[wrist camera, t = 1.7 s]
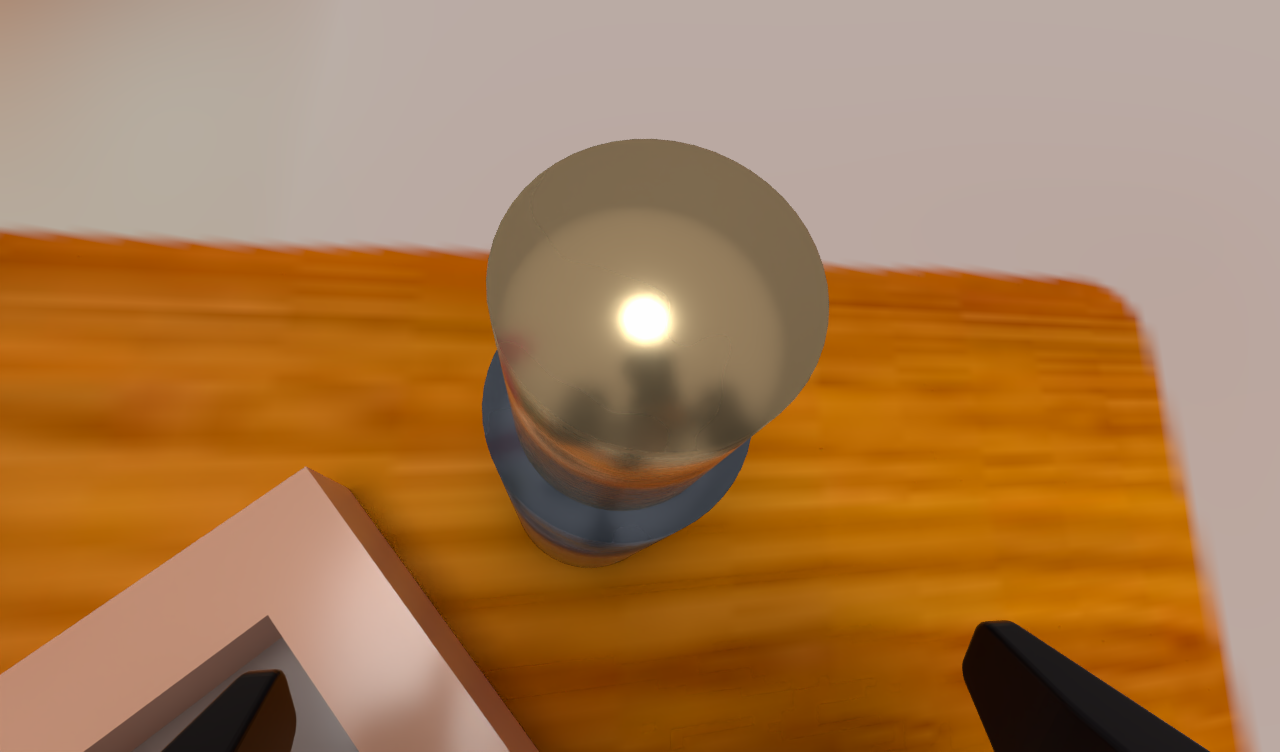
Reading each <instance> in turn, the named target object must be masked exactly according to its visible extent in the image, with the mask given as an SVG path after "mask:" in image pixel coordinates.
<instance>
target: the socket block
mask: <svg viewBox="0 0 1280 752" xmlns="http://www.w3.org/2000/svg"><path fill="white" fill-rule="evenodd" d="M266 669H280V670H282V671H283V672H284V673H285V676H286V678H287V682H288V685H289V689H290V692H291V696H292V699H293V703H294V706H295V710H296V716H297V725H296V733H295V737H294V741H293V746H292V750H291V752H539V751H538V749H537V748H536V747H535V745H534V744H533V742H532V741H531V740H530V738H529V737H528V736H527V734H526V733H525V731H524V730H523V729H522V727H521V726H520V725H519V723H518V722H517V720H516V719H515V718H514V716H513V715H512V714H511V712H510V711H509V709H508V708H507V707H506V705H505V704H504V702H503V701H502V700H501V698H500V697H499V696H498V694H497V693H496V691H495V690H494V689H493V687H492V686H491V685H490V683H489V682H488V680H487V679H486V678H485V676H484V675H483V673H482V672H481V671H480V669H479V668H478V667H477V665H476V664H475V662H474V661H473V660H472V658H471V657H470V656H469V654H468V653H467V651H466V650H465V649H464V647H463V646H462V644H461V643H460V642H459V640H458V639H457V638H456V636H455V635H454V633H453V632H452V631H451V629H450V628H449V627H448V625H447V624H446V622H445V621H444V620H443V618H442V617H441V615H440V614H439V613H438V611H437V610H436V609H435V607H434V606H433V604H432V603H431V602H430V600H429V599H428V598H427V596H426V595H425V593H424V592H423V591H422V589H421V588H420V587H419V585H418V584H417V582H416V581H415V580H414V578H413V577H412V575H411V574H410V573H409V571H408V570H407V569H406V567H405V566H404V564H403V563H402V562H401V560H400V559H399V558H398V556H397V555H396V553H395V552H394V551H393V549H392V548H391V546H390V545H389V544H388V542H387V541H386V540H385V538H384V537H383V535H382V534H381V533H380V531H379V530H378V529H377V527H376V526H375V524H374V523H373V522H372V520H371V519H370V517H369V516H368V515H367V513H366V512H365V511H364V509H363V508H362V506H361V505H360V504H359V502H358V501H357V500H356V498H355V497H354V495H353V494H352V493H351V491H350V490H349V489H348V488H346V487H344V486H342V485H340V484H338V483H337V482H335V481H333V480H331V479H329V478H327V477H325V476H323V475H321V474H319V473H317V472H315V471H314V470H312V469H310V468H308V467H304V468H303V469H302V470H300V471H299V472H297V473H296V474H294V475H293V476H291V477H290V478H288V479H287V480H285V481H284V482H282V483H281V484H280V485H278V486H277V487H275V488H274V489H272V490H271V491H269V492H268V493H266V494H265V495H263V496H262V497H260V498H259V499H258V500H256V501H255V502H253V503H252V504H250V505H249V506H247V507H246V508H244V509H243V510H241V511H240V512H238V513H237V514H236V515H234V516H233V517H231V518H230V519H228V520H227V521H225V522H224V523H222V524H221V525H219V526H218V527H216V528H215V529H214V530H212V531H211V532H209V533H208V534H206V535H205V536H203V537H202V538H200V539H199V540H197V541H196V542H194V543H193V544H192V545H190V546H189V547H187V548H186V549H184V550H183V551H181V552H180V553H178V554H177V555H175V556H174V557H172V558H171V559H170V560H168V561H167V562H165V563H164V564H162V565H161V566H159V567H158V568H156V569H155V570H153V571H152V572H150V573H149V574H148V575H146V576H145V577H143V578H142V579H140V580H139V581H137V582H136V583H134V584H133V585H131V586H130V587H128V588H127V589H126V590H124V591H123V592H121V593H120V594H118V595H117V596H115V597H114V598H112V599H111V600H109V601H108V602H106V603H105V604H104V605H102V606H101V607H99V608H98V609H96V610H95V611H93V612H92V613H90V614H89V615H87V616H86V617H84V618H83V619H82V620H80V621H79V622H77V623H76V624H74V625H73V626H71V627H70V628H68V629H67V630H65V631H64V632H63V633H61V634H60V635H58V636H57V637H55V638H54V639H52V640H51V641H49V642H48V643H46V644H45V645H43V646H42V647H41V648H39V649H38V650H36V651H35V652H33V653H32V654H30V655H29V656H27V657H26V658H24V659H23V660H21V661H20V662H19V663H17V664H16V665H14V666H13V667H11V668H10V669H8V670H7V671H5V672H4V673H2V674H1V675H0V752H161V751H162V750H163V749H164V748H165V747H166V746H167V745H168V744H169V743H170V742H171V741H172V740H173V739H174V738H175V737H176V736H177V735H178V734H179V733H180V732H181V731H182V730H183V729H184V728H185V727H186V726H188V725H189V724H190V723H191V722H192V721H193V720H194V719H195V718H196V717H197V716H198V715H199V714H200V713H201V712H202V711H203V710H204V709H205V708H206V707H207V706H208V705H209V704H210V703H211V702H212V701H213V700H215V699H216V698H217V697H218V696H219V695H220V694H221V693H222V692H223V691H224V690H225V689H226V688H227V687H228V686H229V685H230V684H231V683H232V682H233V681H234V680H235V679H236V678H238V677H239V676H240V675H242V674H243V673H245V672H247V671H252V670H266Z"/></svg>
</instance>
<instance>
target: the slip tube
mask: <svg viewBox="0 0 1280 752" xmlns="http://www.w3.org/2000/svg"><path fill="white" fill-rule="evenodd" d="M486 287H487V303H488V308H489V314H490V319H491V324H492V328H493V333H494V337H495V341H496V346H497V351H496V353H495V354H494V357H493V359H492V362H491V364H490V367H489V369H488V373H487V377H486V381H485V385H484V391H483V401H482V415H483V426H484V432H485V438H486V442H487V445H488V448H489V451H490V454H491V457H492V459H493V462H494V464H495V466H496V468H497V470H498V473H499V475H500V477H501V479H502V482H503V484H504V486H505V488H506V490H507V493H508V495H509V497H510V499H511V501H512V504H513V506H514V508H515V510H516V513H517V515H518V517H519V519H520V521H521V523H522V526H523V528H524V530H525V531H526V533H527V534H528V536H529V537H530V539H531V540H532V541H533V542H534V543H535V544H536V546H537V547H539V548H540V549H541V550H542V551H543V552H544V553H546V554H547V555H549V556H550V557H552V558H553V559H556V560H558V561H560V562H562V563H565V564H568V565H572V566H577V567H586V568H594V567H603V566H607V565H611V564H614V563H616V562H619V561H621V560H623V559H625V558H627V557H629V556H631V555H633V554H635V553H637V552H639V551H641V550H642V549H644V548H646V547H648V546H650V545H652V544H654V543H656V542H658V541H660V540H662V539H663V538H665V537H667V536H669V535H671V534H673V533H675V532H677V531H679V530H681V529H682V528H684V527H686V526H688V525H689V524H691V523H693V522H695V521H696V520H698V519H699V518H700V517H701V516H703V515H704V514H705V513H707V512H708V511H709V510H711V508H712V507H713V506H714V505H715V504H716V503H717V502H718V501H719V500H720V499H721V498H722V497H723V496H724V495H725V493H726V492H727V491H728V489H729V488H730V487H731V485H732V484H733V482H734V481H735V479H736V477H737V475H738V473H739V471H740V470H741V468H742V465H743V462H744V460H745V457H746V454H747V452H748V447H749V443H750V439H751V437H752V436H753V435H754V434H755V433H757V432H758V431H759V430H760V429H762V428H763V427H764V426H765V425H766V424H768V423H769V422H770V421H771V420H773V419H774V418H775V417H776V416H778V415H779V414H780V413H781V412H782V411H783V410H784V409H785V408H786V407H787V406H788V405H789V404H790V403H791V402H792V401H793V400H794V399H795V398H796V397H797V395H798V394H799V393H800V391H801V390H802V388H803V387H804V386H805V384H806V383H807V382H808V380H809V378H810V376H811V374H812V372H813V371H814V369H815V367H816V365H817V363H818V360H819V357H820V354H821V352H822V349H823V346H824V342H825V337H826V332H827V327H828V315H829V299H828V287H827V281H826V277H825V272H824V268H823V264H822V261H821V259H820V256H819V253H818V250H817V248H816V246H815V244H814V242H813V240H812V238H811V236H810V234H809V232H808V230H807V228H806V227H805V225H804V224H803V222H802V221H801V219H800V218H799V216H798V215H797V213H796V212H795V211H794V210H793V209H792V207H791V206H790V205H789V204H788V203H787V201H786V200H785V199H784V198H783V197H782V196H781V195H780V194H779V193H778V192H777V191H776V190H775V189H773V188H772V187H771V186H770V185H769V184H768V183H767V182H766V181H764V180H763V179H762V178H760V177H758V176H757V175H756V174H755V173H753V172H752V171H751V170H749V169H747V168H746V167H744V166H742V165H740V164H739V163H737V162H735V161H733V160H731V159H729V158H727V157H725V156H722V155H720V154H718V153H716V152H713V151H710V150H707V149H704V148H701V147H698V146H695V145H690V144H686V143H681V142H676V141H668V140H658V139H632V140H623V141H615V142H610V143H606V144H601V145H597V146H594V147H590V148H588V149H585V150H582V151H580V152H577V153H574V154H572V155H570V156H568V157H567V158H565V159H563V160H561V161H559V162H557V163H555V164H554V165H552V166H551V167H550V168H548V169H547V170H545V171H544V172H543V173H541V174H540V175H538V176H537V177H536V178H535V179H534V180H533V181H532V182H531V183H530V184H529V185H528V186H527V187H525V188H524V190H523V191H522V192H521V193H520V194H519V196H518V197H517V198H516V199H515V200H514V202H513V203H512V204H511V206H510V208H509V209H508V211H507V213H506V214H505V216H504V218H503V219H502V221H501V223H500V225H499V228H498V230H497V232H496V235H495V237H494V240H493V244H492V247H491V251H490V255H489V259H488V268H487V277H486Z"/></svg>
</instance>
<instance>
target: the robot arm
mask: <svg viewBox="0 0 1280 752" xmlns="http://www.w3.org/2000/svg"><path fill="white" fill-rule="evenodd" d="M962 671H963V677H964V680H965V683H966V685H967V688H968V690H969V693H970V695H971V697H972V700H973V702H974V705H975V707H976V709H977V712H978V714H979V716H980V719H981V721H982V724H983V726H984V728H985V731H986V733H987V735H988V738H989V740H990V743H991V745H992V747H993V750H994V752H1210V751H1208V750H1207V749H1205V748H1204V747H1202V746H1201V745H1199V744H1198V743H1196V742H1195V741H1193V740H1192V739H1190V738H1189V737H1187V736H1185V735H1184V734H1182V733H1181V732H1179V731H1178V730H1176V729H1175V728H1173V727H1172V726H1170V725H1169V724H1167V723H1166V722H1164V721H1163V720H1161V719H1160V718H1158V717H1157V716H1155V715H1154V714H1152V713H1151V712H1149V711H1148V710H1146V709H1144V708H1143V707H1141V706H1140V705H1138V704H1137V703H1135V702H1134V701H1132V700H1131V699H1129V698H1128V697H1126V696H1125V695H1123V694H1122V693H1120V692H1119V691H1117V690H1116V689H1114V688H1113V687H1111V686H1110V685H1108V684H1107V683H1105V682H1104V681H1102V680H1100V679H1099V678H1097V677H1096V676H1094V675H1093V674H1091V673H1090V672H1088V671H1087V670H1085V669H1084V668H1082V667H1081V666H1079V665H1078V664H1076V663H1075V662H1073V661H1072V660H1070V659H1069V658H1067V657H1066V656H1064V655H1063V654H1061V653H1060V652H1058V651H1056V650H1055V649H1053V648H1052V647H1050V646H1049V645H1047V644H1046V643H1044V642H1043V641H1041V640H1040V639H1038V638H1037V637H1035V636H1034V635H1032V634H1031V633H1029V632H1028V631H1026V630H1025V629H1023V628H1022V627H1020V626H1019V625H1017V624H1015V623H1013V622H1011V621H1006V620H1001V621H986V622H981V623H980V624H979V625H978V626H977V627H976V629H975V631H974V634H973V636H972V639H971V641H970V644H969V647H968V649H967V652H966V654H965V657H964V659H963V663H962ZM296 725H297V716H296V710H295V706H294V703H293V699H292V696H291V692H290V689H289V685H288V682H287V678H286V676H285V673H284V672H283V671H282V670H280V669H266V670H252V671H247V672H245V673H243V674H242V675H240V676H239V677H238V678H236V679H235V680H234V681H233V682H232V683H231V684H230V685H229V686H228V687H227V688H226V689H225V690H224V691H223V692H222V693H221V694H220V695H219V696H218V697H217V698H216V699H215V700H213V701H212V702H211V703H210V704H209V705H208V706H207V707H206V708H205V709H204V710H203V711H202V712H201V713H200V714H199V715H198V716H197V717H196V718H195V719H194V720H193V721H192V722H191V723H190V724H189V725H188V726H186V727H185V728H184V729H183V730H182V731H181V732H180V733H179V734H178V735H177V736H176V737H175V738H174V739H173V740H172V741H171V742H170V743H169V744H168V745H167V746H166V747H165V748H164V749H163V750H162V751H161V752H291V750H292V746H293V741H294V737H295V733H296Z"/></svg>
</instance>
